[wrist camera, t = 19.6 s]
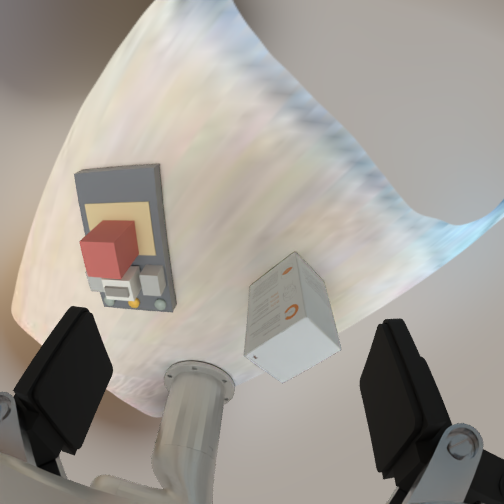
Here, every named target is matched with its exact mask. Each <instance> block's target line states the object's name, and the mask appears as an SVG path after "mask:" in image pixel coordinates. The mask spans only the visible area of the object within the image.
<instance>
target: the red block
mask: <svg viewBox="0 0 504 504" xmlns="http://www.w3.org/2000/svg"><path fill="white" fill-rule="evenodd" d="M79 242H80V246H81V250H82V255H83V259H84V263H85V267H86V271H87V275H88V277H99V278H111V279H122V277H123V276H124V274H125V273H126V272H127V270H128V269H129V267H130V266H131V264H132V263H133V262H134V260H135V259H136V257H137V256H138V255H139V250H138V243H137V236H136V229H135V222H134V221H127V220H102V221H101V222H100V223H99V224H98V225H97V226H96V227H95V228H94V229H92V230H91V231H90V232H89V233H88V234H87V235H86V236H85V237H84V238H83V239H82V240H81V241H79Z"/></svg>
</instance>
